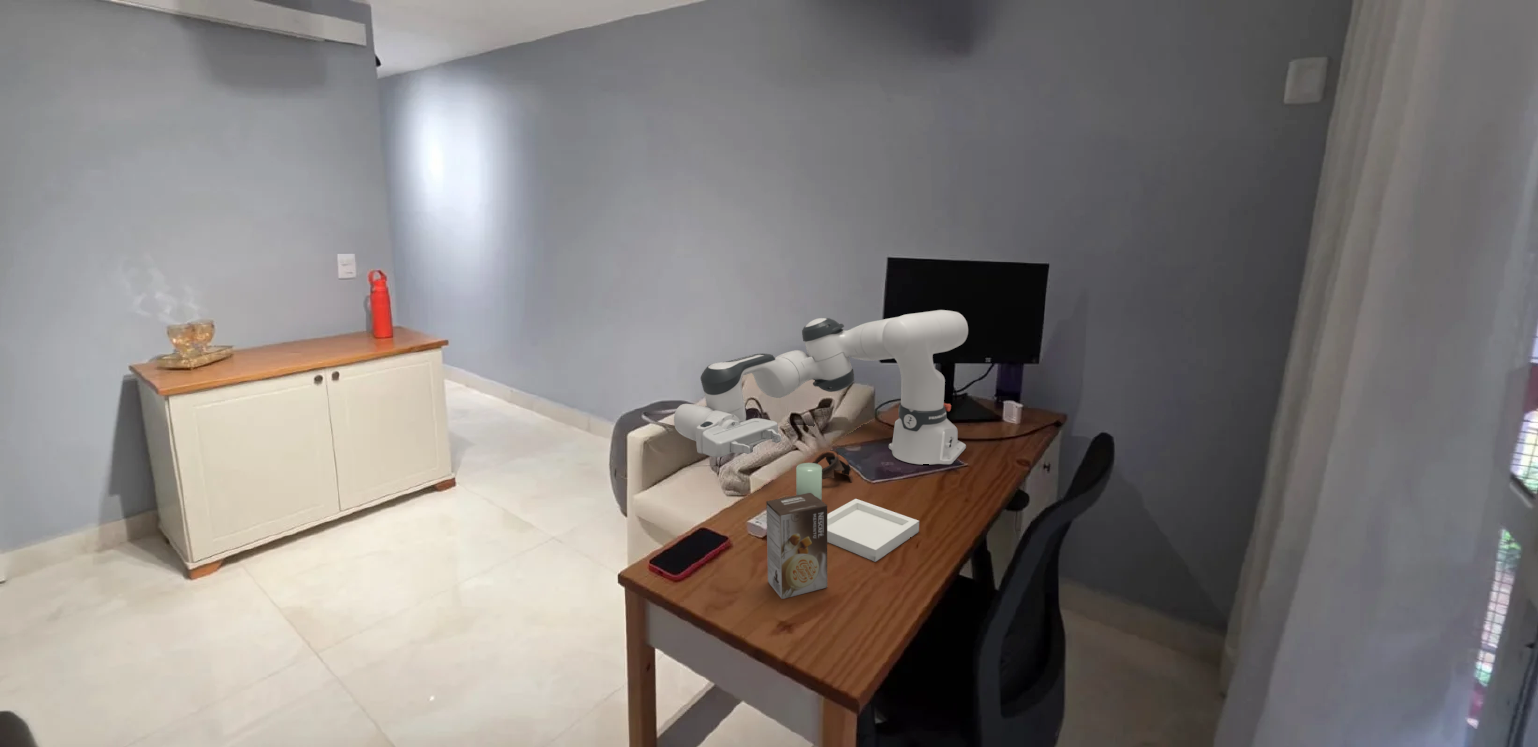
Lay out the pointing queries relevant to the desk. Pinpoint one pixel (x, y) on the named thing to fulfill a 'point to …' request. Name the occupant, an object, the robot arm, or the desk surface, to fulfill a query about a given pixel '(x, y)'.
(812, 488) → the green cylinder
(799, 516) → the coffee box
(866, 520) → the tray
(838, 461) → the pottery mug
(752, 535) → the desk surface
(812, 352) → the robot arm
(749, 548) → the desk surface
